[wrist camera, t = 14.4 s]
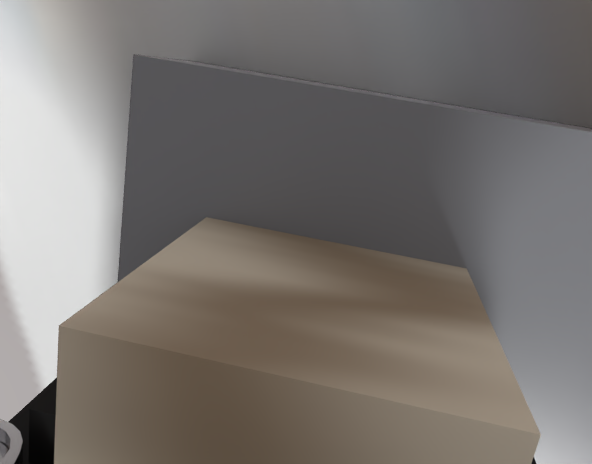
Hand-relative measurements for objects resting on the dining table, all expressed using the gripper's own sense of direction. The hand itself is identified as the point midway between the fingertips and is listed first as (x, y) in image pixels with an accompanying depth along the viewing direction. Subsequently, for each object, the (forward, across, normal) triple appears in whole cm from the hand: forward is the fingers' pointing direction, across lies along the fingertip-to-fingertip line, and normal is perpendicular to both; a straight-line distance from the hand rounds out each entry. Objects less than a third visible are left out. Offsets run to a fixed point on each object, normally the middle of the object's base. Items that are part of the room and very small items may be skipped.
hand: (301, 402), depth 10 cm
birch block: (+1, 0, -1) cm, 1 cm away
